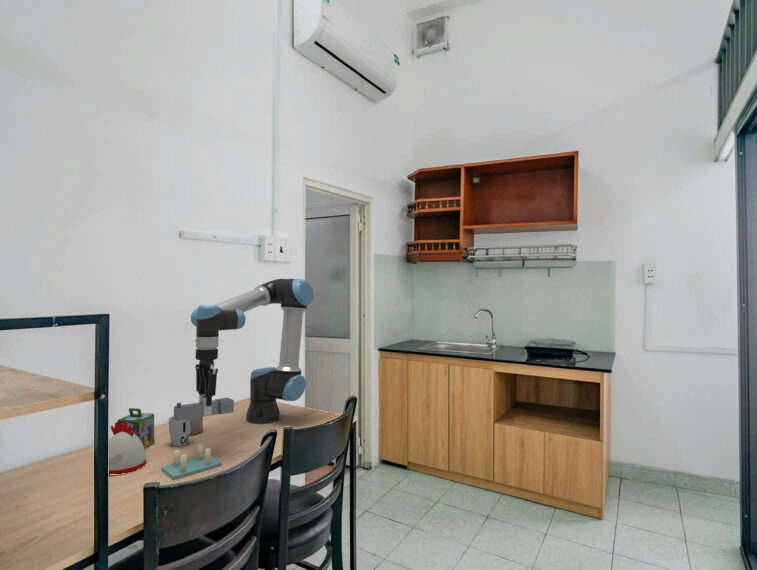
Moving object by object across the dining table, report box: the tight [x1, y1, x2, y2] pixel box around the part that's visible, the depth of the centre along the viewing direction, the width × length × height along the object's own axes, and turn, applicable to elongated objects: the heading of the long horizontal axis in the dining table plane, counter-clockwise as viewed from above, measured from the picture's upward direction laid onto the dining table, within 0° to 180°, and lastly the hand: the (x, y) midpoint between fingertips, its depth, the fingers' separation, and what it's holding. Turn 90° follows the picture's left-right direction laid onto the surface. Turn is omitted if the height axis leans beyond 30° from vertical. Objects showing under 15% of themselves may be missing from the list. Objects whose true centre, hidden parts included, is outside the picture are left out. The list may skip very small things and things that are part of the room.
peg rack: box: [161, 443, 223, 481], centre depth 147 cm, size 16×10×6 cm, turn 136°
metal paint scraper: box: [173, 397, 235, 421], centre depth 157 cm, size 20×5×6 cm, turn 135°
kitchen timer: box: [108, 421, 147, 476], centre depth 147 cm, size 14×14×15 cm
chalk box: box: [116, 407, 155, 449], centre depth 165 cm, size 9×9×15 cm
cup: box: [168, 415, 192, 447], centre depth 169 cm, size 8×8×10 cm
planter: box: [189, 417, 204, 437], centre depth 182 cm, size 11×11×10 cm
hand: (205, 413), depth 157 cm, fingers closed on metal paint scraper, 3 cm apart
